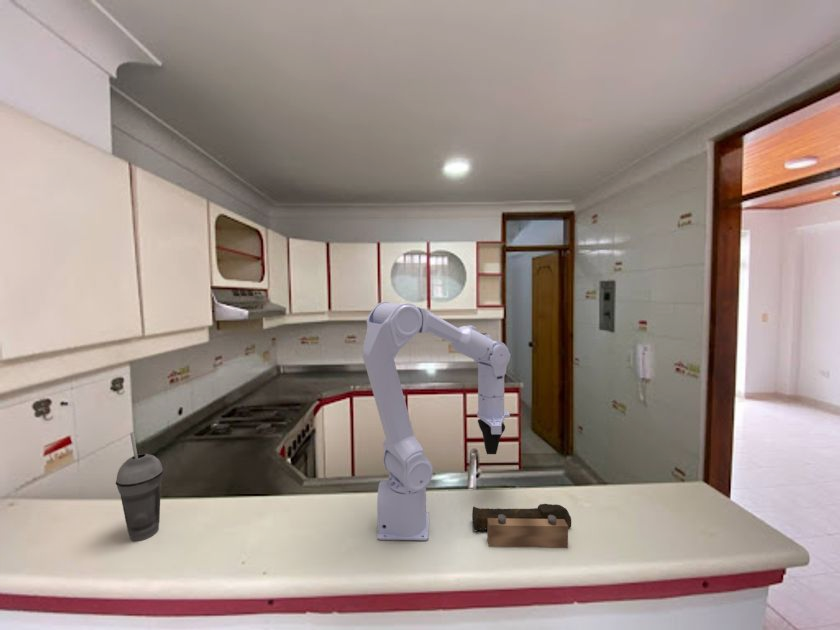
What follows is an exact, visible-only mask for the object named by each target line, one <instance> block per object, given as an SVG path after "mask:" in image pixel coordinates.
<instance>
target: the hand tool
mask: <svg viewBox="0 0 840 630" xmlns="http://www.w3.org/2000/svg"><path fill="white" fill-rule="evenodd" d="M499 514H503V515H505V516H506V518H515V519H548V516H549V515H554V516H555V517H556V519H564V520H565V522H566V523H567V525H568V529H570V528H571V527H572V517H571V515H570V512H569V511H568V509H567V508H566V507H564V506H562V505H560V504H556V503H555V504H551V503H550V504H548V503H541V504H538V505H537V507H534V508H497V507H496V508H489V507H488V508H487V507H486V508H483V507H481V508H480V507H475V505H474V506H472V514H471V517H472V518H471V519H472V526H473V529H474V531H475V532H477V531H479V530H481V531H482V532H485V531H486V530H487V518H498V515H499Z"/></svg>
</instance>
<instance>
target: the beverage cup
mask: <svg viewBox="0 0 840 630" xmlns="http://www.w3.org/2000/svg"><path fill="white" fill-rule="evenodd" d="M129 435H130V441H131V447H132V451H133V456H131V457H129V458H128V459H126V461H124V463H122V464H121V466H120V467H119V468H118V472H117V475H116V481H115V485H116V487H117V490H118V493H119V495H120V500H121V505H122V509H123V514H124V515H123V516H124V519H125V525H126V530H127V532H128V537H129V540H130V541H131V542H141V541H145V540H147V539H150V538H152V537H153V536H154V535H156V534H157V533H158V532H159V530H160V527H159V526H160V517H161V514H160V513H161V487H162V482H163V473H164V468H163V465H162V462H161V461H160V459H159V458H157V457H156V456H155V455H153V454H149V453H140V454H139V453H138V450H137V445H136V438H135V433H134V432H130V434H129Z"/></svg>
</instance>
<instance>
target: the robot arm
mask: <svg viewBox="0 0 840 630" xmlns="http://www.w3.org/2000/svg"><path fill="white" fill-rule="evenodd" d="M365 321H366V326H367V328H366V332H365V338H364V342H363V347H362V359H363V362H364V366H365V369H366V372H367V377H368V380H369V384H370V387H371V390H372V394H373V397H374V402H375V405H376V408H377V412H378V415H379V419H380V423H381V426H382V430H383V433H384V437H385V439H384V441H383V442H382V447H383V455H382V465H383V467H384V469H386V471H387V472H388V479H387V480H382V481H379V483H378V488H377V499H376V500H377V501H376V506H377V508H376V511H377V517H376V518H377V536H376V537H377V540H381V541H382V540H385V541H386V540H388V541H390V540H391V541H393V540H394V541H427V540H429V525H430V524H429V519H430V518H429V517H430V516H429V515H430V512H428V511H427V488H428V485H430V484H429V483H430V482H431V480H432V477H433V474H434V466H433V464H432V462H431V461H430V460H429V459H428V458H427V456H426V455H425V451H424V449H423V447H422V445H421V443H419V440H418V439H417V438H416V436H415V434H414V429H413V427H412V422H411V419H410V415H409V411H408V408H407V403H406V400H405V397H404V393H403V389H402V384H401V380H400V377H399V373H398V370H397V369H398V368H397V366H396V361H395V358H396V356H397V354H398V353H399V351H400V350H401V349H403V348H404V347H405V346H406V345H407V344H408V343H409V342H410V341H411V340H412V339H414V337H416V336H417V334H418V333H419V334H424V333H428V334H431V335H434V336H435V337H437V338H440V339H442V340H445V341H447V342H450V344H451V348H452V350H453V351H455V352H456V353H458V354H461V355H463V356H465V357H467V358H469V359H471V360H473V361H474V363H476V364H477V366H478V367H477V377H478V378H477V390H478V391H477V396H478V397H477V412H476V416H477V418H478V420H477V423H478V426H479V430H480V431H481V432H482V437H483V444H484V448H485V449H484V450H485V453H486V455H497V452H498V450H499V449H498V448H499V443H500V439H501V437H502V435H503V433H504V432H505V430H506V425H505V424H504V421H505V419H506V418H507V419H508V418H510V416H511V415H510V412H509V411H505V375H506V373H507V369H508V368H507V367H508V364H509V362H510V360H511V355H512V353H510V351H509V347H507V345H506V344H505V343H504V342H502V341H497V340H493V339H492V336H491V335H489V334H482V333H481V332H479V331H477V327H475V326H473V325H462V326H460V327H456V326H455V325H453V324H451V323H450V322H448V321H446V320H444V319H443V318H441V317H439V316H438V315H436V314H435V313H432V312H431V311H429V310H427V309H426V308H423V307H419V306H416V305H414V304H413V303H411V302H403V303H400V302H398V303H396V302H395V303H394V302H389V301H381V302H379V303H378V304H376V305H375V306H374V308H373V309H372V310H371V312H370V313H369V315H368V316H367V317H366V320H365Z"/></svg>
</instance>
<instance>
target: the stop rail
mask: <svg viewBox="0 0 840 630" xmlns="http://www.w3.org/2000/svg"><path fill="white" fill-rule="evenodd" d="M486 532H487V533H486V534H487V536H486V537H487V543H488V547H494V548H495V547H500V548H501V547H505V548H506V547H508V548H509V547H510V548H557V549H558V548H560V549H562V548H566V549H567V548H569V545H568V544H569V528H568V525H567V523H566V522H565V520H564V519H556V517H555V516H554V515H549V516H548V519H515V518H506V516H505V515H503V514H499V515H498V518H487V529H486Z"/></svg>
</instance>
